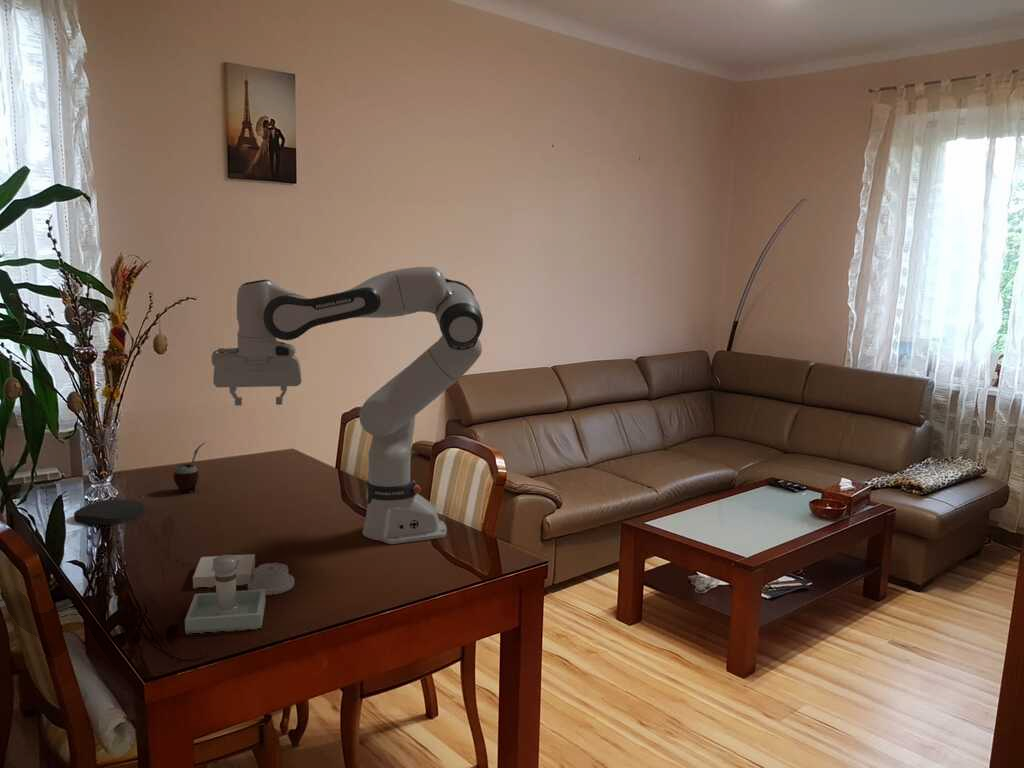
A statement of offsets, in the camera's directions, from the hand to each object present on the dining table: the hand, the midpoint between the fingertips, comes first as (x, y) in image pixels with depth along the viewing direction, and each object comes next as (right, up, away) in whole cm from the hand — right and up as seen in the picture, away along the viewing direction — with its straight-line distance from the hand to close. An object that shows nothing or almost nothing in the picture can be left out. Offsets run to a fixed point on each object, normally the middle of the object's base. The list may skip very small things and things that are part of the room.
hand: (259, 404), depth 188 cm
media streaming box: (-50, -32, +28) cm, 66 cm away
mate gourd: (-39, -28, +52) cm, 71 cm away
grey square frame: (-4, -39, -10) cm, 41 cm away
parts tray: (+4, -42, -31) cm, 52 cm away
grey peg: (+4, -42, -31) cm, 52 cm away
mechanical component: (+8, -41, -15) cm, 44 cm away
